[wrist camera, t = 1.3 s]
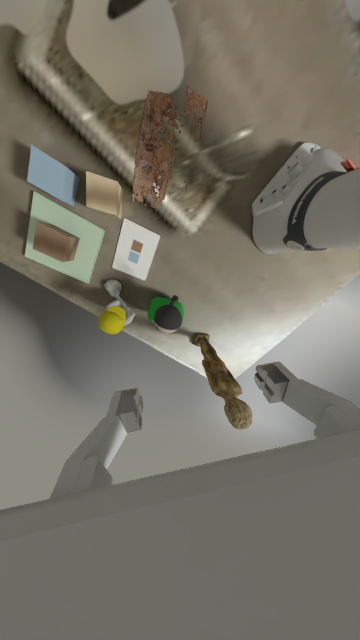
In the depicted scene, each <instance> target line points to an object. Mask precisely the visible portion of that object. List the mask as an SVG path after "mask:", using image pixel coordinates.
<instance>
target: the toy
mask: <svg viewBox="0 0 360 640" xmlns="http://www.w3.org/2000/svg"><path fill="white" fill-rule="evenodd" d="M177 300H178V297H177V296H176V295H175V296H173V297H172V299H168V298H164V297H160V296H158V297H155V298H153V299H152V300H151V302H150V307H149V310H148V318H149V320H150V321H151V322H154V324H155V326H156V328H157V329H158V330H159V331H161V332H163V333H173V332H175V331H177V330H178V329H179V328H180V326H181V324H182V321H183V317H184V313H183V307H182V305H181V304H180V303H179V302H178V301H177Z"/></svg>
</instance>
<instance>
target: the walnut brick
mask: <svg viewBox="0 0 360 640" xmlns="http://www.w3.org/2000/svg"><path fill="white" fill-rule="evenodd" d="M79 239H80V238H78V237H76V236H75V235H73V234H71V233H69V232H67V231H65V230H63V229H61V228H59V227H57V226H55V225H53V224H48V223H43V222H39V221H37V223H36V230H35V236H34V243H33V249H34V250H36V251H39V252H41V253H43V254H45V255H47V256H50V257H52V258H54V259H56V260H58V261H61V262H67V261H73V260H74V258H75V254H76V251H77V247H78V243H79Z"/></svg>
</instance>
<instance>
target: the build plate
mask: <svg viewBox="0 0 360 640" xmlns="http://www.w3.org/2000/svg"><path fill="white" fill-rule="evenodd" d="M37 221H39V222H43V223H48V224H53V225H55V226H57V227H59V228H61V229H63V230H65V231H67V232H69V233H71V234H73V235H75V236H76V237H78V238H80V239H79V243H78V247H77V251H76V254H75V258H74V260H73V261H67V262H61V261H58V260H56V259H54V258H52V257H50V256H47V255H45V254H43V253H41V252H39V251H36V250H34V249H33V243H34V236H35V230H36V223H37ZM104 233H105V230H103V229H102V228H100V227H98V226H96V225H94V224H93V223H91V222H89V221H87V220H85V219H84V218H82V217H80V216H78V215H76V214H75V213H73V212H71V211H69V210H67V209H66V208H64V207H62V206H60V205H59V204H57V203H55V202H53V201H51V200H50V199H48V198H46V197H44V196H42V195H41V194H39V193H37V192H35V191H34V193H33V200H32V207H31V214H30V222H29V229H28V236H27V243H26V250H25V257H28V258H30V259H32V260H34V261H37V262H39V263H41V264H44V265H46V266H48V267H50V268H53V269H55V270H57V271H60V272H62V273H64V274H67V275H69V276H71V277H73V278H76V279H78V280H80V281H83V282H85V283H87V284H88V283H89V282H90V278H91V275H92V272H93V269H94V265H95V262H96V259H97V256H98V252H99V249H100V246H101V243H102V240H103V236H104Z"/></svg>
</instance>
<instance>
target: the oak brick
mask: <svg viewBox="0 0 360 640" xmlns="http://www.w3.org/2000/svg"><path fill="white" fill-rule="evenodd" d="M122 197H123V190H122V188H121V186H120V185H119V183H118V182H117V181H114V180H111V179H108V178H105V177H102V176H99V175H96V174H94V173H91V172H88V171H86V206H87V207H88V208H90V209H92V210H94V211H96V212H99V213H102V214H106V215H109V216H113V217H116V218H119V219H121V211H122Z"/></svg>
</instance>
